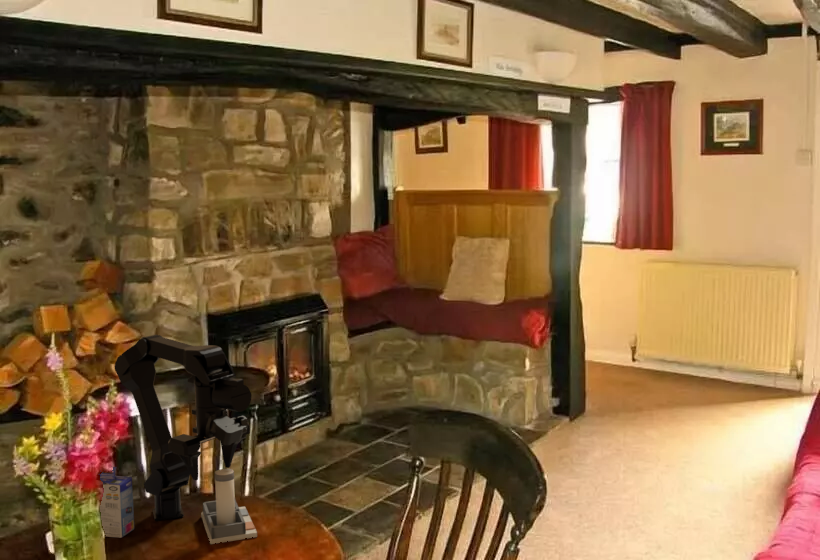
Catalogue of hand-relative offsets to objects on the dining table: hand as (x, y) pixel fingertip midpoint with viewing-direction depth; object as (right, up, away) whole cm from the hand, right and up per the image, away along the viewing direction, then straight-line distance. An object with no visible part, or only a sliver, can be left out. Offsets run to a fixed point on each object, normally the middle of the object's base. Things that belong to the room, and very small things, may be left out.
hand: (211, 473), depth 188 cm
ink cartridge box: (-23, -13, +1) cm, 27 cm away
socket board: (+3, -13, +3) cm, 13 cm away
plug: (+3, -12, -1) cm, 13 cm away
